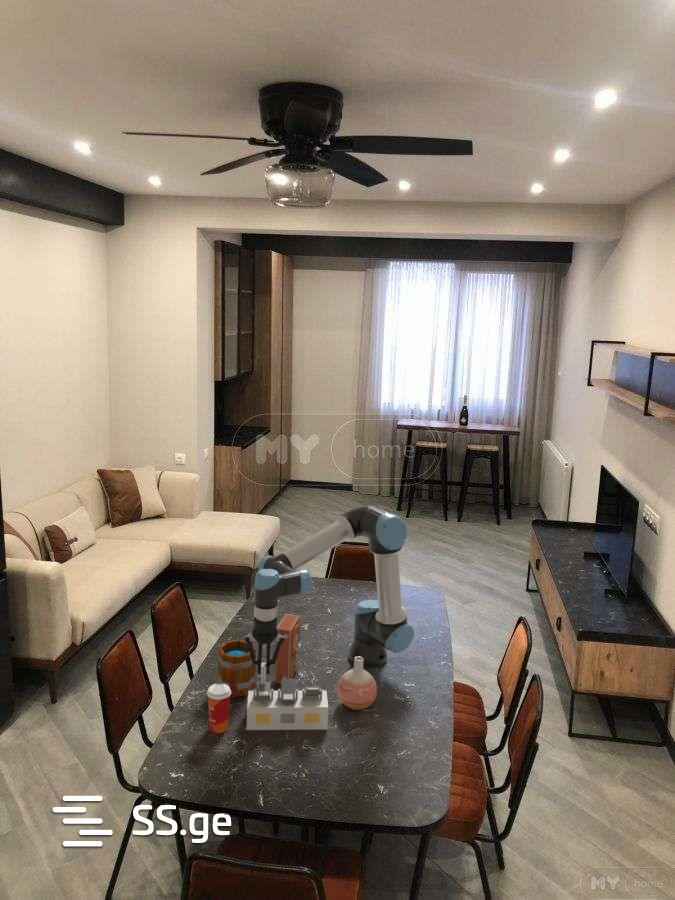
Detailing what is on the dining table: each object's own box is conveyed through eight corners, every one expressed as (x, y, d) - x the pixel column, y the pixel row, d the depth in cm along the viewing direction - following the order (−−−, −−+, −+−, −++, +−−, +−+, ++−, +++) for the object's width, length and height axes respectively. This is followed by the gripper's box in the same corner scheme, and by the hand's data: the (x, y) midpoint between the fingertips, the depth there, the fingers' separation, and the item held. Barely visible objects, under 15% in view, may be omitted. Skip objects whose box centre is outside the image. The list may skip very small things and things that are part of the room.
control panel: (300, 666, 267) (289, 687, 253) (282, 664, 269) (271, 684, 254) (302, 614, 263) (291, 631, 248) (284, 611, 264) (272, 629, 250)
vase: (348, 720, 234) (350, 671, 231) (329, 699, 246) (331, 653, 242) (383, 711, 241) (386, 663, 237) (363, 691, 252) (366, 645, 249)
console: (325, 711, 238) (326, 681, 236) (327, 730, 228) (328, 698, 226) (248, 712, 236) (248, 681, 234) (246, 730, 226) (247, 699, 224)
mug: (220, 676, 258) (220, 638, 255) (257, 677, 258) (257, 639, 255) (211, 706, 239) (212, 666, 235) (251, 707, 239) (252, 667, 236)
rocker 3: (318, 691, 235) (318, 685, 236) (320, 695, 227) (320, 689, 227) (304, 691, 235) (304, 686, 235) (305, 695, 226) (305, 689, 227)
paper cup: (207, 721, 230) (208, 682, 227) (231, 721, 231) (232, 682, 228) (205, 735, 222) (205, 695, 220) (229, 735, 223) (230, 695, 220)
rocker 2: (295, 681, 235) (295, 677, 234) (295, 703, 227) (295, 699, 226) (280, 682, 234) (280, 678, 233) (280, 703, 227) (280, 699, 226)
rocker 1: (270, 686, 234) (271, 681, 234) (270, 700, 225) (270, 695, 225) (256, 686, 234) (256, 681, 234) (255, 700, 225) (255, 695, 225)
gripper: (285, 611, 232) (283, 676, 237) (245, 611, 231) (243, 676, 236) (286, 622, 225) (283, 688, 230) (244, 621, 224) (242, 688, 229)
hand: (263, 682), depth 233 cm, fingers closed
